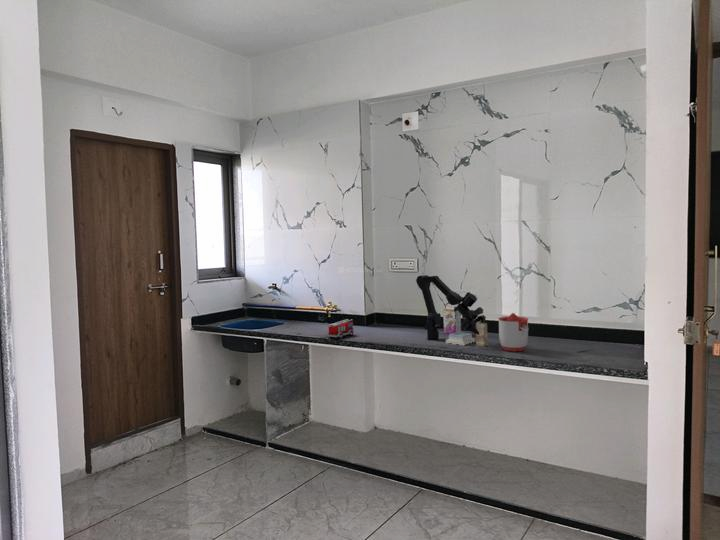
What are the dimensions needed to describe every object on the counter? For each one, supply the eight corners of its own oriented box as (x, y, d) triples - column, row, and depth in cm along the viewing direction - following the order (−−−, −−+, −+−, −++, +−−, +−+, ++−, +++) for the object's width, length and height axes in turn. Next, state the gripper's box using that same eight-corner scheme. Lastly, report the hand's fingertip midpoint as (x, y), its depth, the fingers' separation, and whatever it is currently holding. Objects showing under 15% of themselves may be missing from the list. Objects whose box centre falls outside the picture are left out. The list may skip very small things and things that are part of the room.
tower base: (463, 345, 313) (463, 336, 312) (445, 343, 321) (445, 334, 321) (474, 341, 322) (474, 333, 321) (457, 339, 330) (456, 331, 329)
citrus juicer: (515, 354, 286) (515, 316, 285) (492, 349, 301) (492, 312, 300) (537, 350, 293) (537, 313, 292) (513, 345, 309) (513, 310, 307)
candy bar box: (443, 333, 351) (442, 308, 350) (449, 332, 354) (448, 307, 353) (455, 335, 342) (455, 309, 341) (461, 334, 345) (461, 308, 344)
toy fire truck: (356, 334, 357) (355, 319, 356) (336, 339, 342) (336, 324, 342) (345, 333, 363) (344, 318, 362) (326, 338, 348) (325, 322, 347)
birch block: (483, 346, 308) (482, 324, 308) (476, 345, 312) (475, 323, 311) (487, 345, 312) (487, 323, 311) (480, 344, 315) (479, 322, 314)
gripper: (465, 304, 306) (483, 326, 299) (482, 301, 320) (500, 321, 313) (453, 317, 312) (471, 339, 305) (471, 313, 326) (488, 333, 319)
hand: (483, 333), depth 311 cm, fingers open, 9 cm apart
